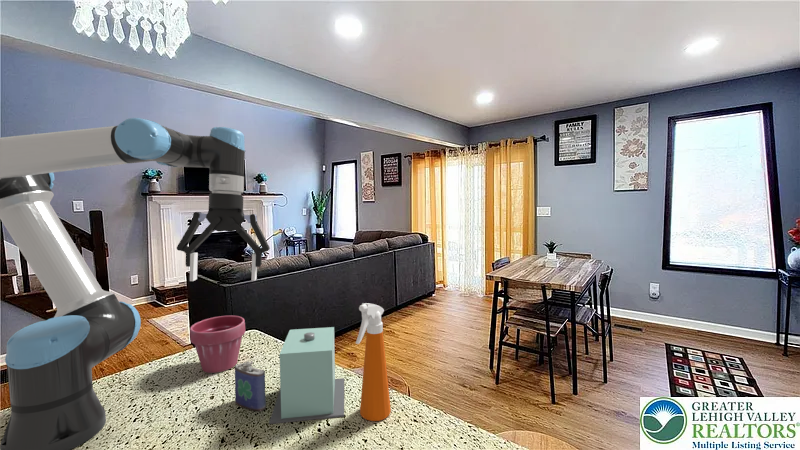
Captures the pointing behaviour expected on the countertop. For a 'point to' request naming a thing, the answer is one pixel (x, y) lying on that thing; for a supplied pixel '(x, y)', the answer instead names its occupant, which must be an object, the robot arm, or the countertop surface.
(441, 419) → the countertop surface
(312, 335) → the box
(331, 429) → the countertop surface
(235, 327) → the plant pot
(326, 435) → the countertop surface
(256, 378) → the flask
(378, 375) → the spray bottle
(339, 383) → the rubber mat
